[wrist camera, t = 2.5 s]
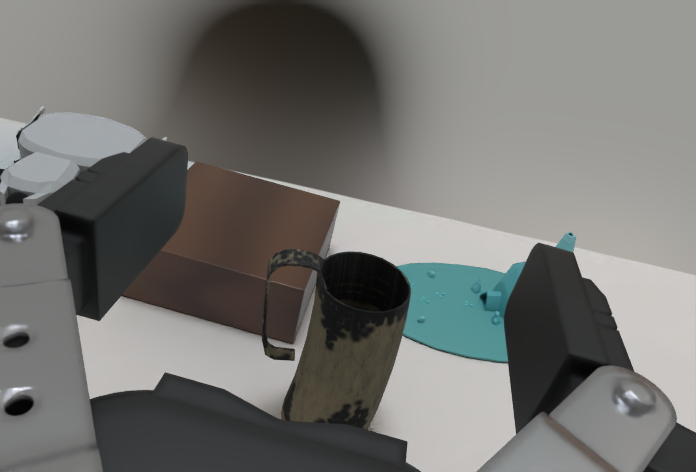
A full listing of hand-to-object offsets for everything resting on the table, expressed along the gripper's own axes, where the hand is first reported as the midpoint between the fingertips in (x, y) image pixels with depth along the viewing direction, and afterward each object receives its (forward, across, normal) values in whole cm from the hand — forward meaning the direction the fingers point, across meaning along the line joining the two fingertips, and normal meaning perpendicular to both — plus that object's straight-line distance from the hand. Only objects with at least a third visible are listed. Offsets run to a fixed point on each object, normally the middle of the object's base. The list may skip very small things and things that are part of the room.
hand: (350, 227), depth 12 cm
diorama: (+28, -11, +22) cm, 37 cm away
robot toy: (+28, +26, +21) cm, 44 cm away
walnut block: (+24, +9, +21) cm, 33 cm away
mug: (+12, 0, +22) cm, 25 cm away
